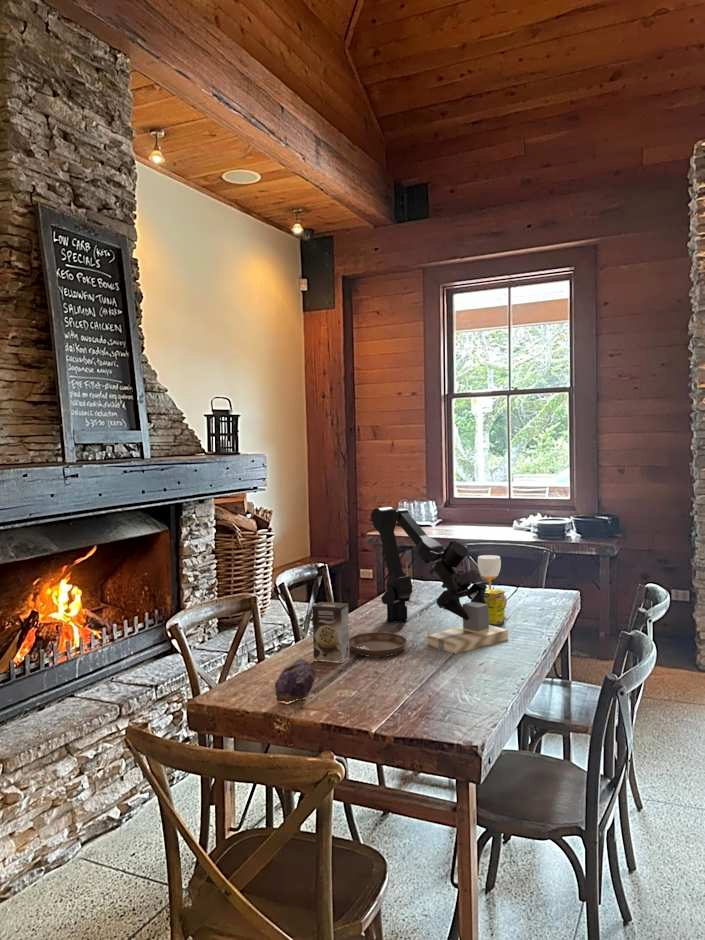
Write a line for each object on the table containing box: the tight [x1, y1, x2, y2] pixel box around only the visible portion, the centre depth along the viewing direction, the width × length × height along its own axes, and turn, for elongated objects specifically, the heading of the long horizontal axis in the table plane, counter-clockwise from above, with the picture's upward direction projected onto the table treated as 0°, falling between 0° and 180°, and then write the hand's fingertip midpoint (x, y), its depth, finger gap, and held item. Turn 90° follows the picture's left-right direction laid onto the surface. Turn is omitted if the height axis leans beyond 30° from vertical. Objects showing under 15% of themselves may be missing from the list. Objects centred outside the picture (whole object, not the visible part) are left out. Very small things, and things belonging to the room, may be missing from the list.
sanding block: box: [461, 601, 489, 634], centre depth 223 cm, size 6×5×8 cm
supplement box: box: [484, 588, 505, 627], centre depth 241 cm, size 6×6×11 cm
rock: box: [274, 658, 317, 702], centre depth 179 cm, size 12×9×10 cm
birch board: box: [427, 625, 509, 655], centre depth 221 cm, size 22×12×3 cm, turn 125°
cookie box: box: [311, 601, 350, 662], centre depth 208 cm, size 9×6×16 cm
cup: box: [477, 554, 502, 589], centre depth 276 cm, size 9×9×16 cm
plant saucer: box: [349, 631, 408, 657], centre depth 217 cm, size 18×18×3 cm
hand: (477, 616), depth 222 cm, fingers open, 9 cm apart
